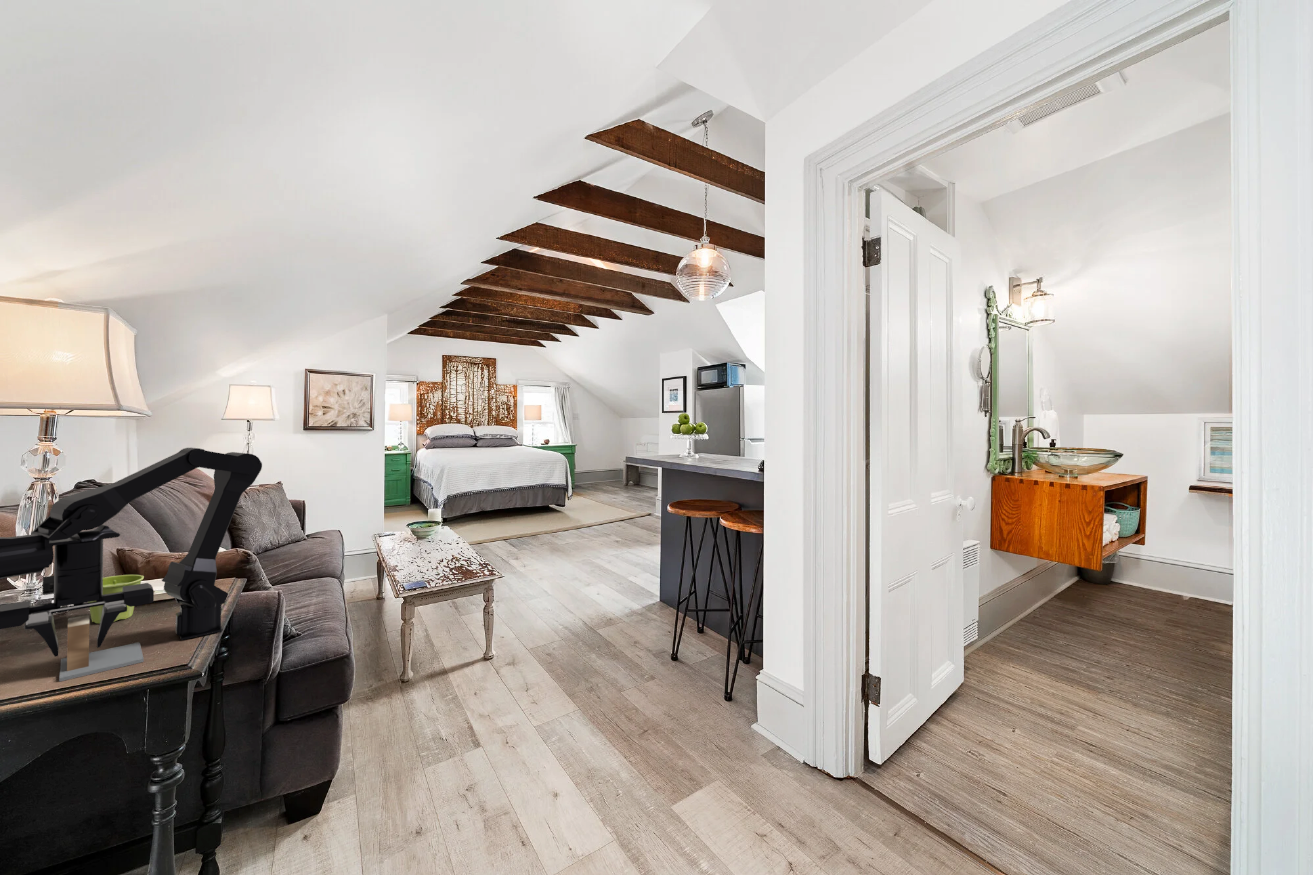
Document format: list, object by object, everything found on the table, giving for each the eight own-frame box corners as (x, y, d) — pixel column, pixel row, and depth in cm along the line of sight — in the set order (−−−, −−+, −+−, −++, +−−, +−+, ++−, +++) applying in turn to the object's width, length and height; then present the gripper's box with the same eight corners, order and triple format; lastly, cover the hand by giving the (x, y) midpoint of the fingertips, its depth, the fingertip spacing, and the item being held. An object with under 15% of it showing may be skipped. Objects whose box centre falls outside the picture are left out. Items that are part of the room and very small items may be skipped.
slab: (88, 657, 91) (89, 614, 91) (88, 666, 88) (89, 622, 88) (67, 661, 89) (68, 618, 89) (66, 671, 86) (67, 626, 86)
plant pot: (94, 614, 112) (95, 576, 112) (150, 608, 116) (151, 572, 116) (69, 629, 104) (70, 589, 103) (131, 623, 108) (131, 584, 108)
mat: (139, 645, 98) (139, 642, 98) (143, 661, 92) (143, 658, 92) (60, 661, 90) (61, 658, 90) (59, 681, 84) (59, 678, 84)
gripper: (149, 549, 101) (148, 623, 101) (-3, 566, 86) (-4, 653, 87) (154, 559, 93) (153, 640, 94) (-10, 580, 79) (-11, 675, 80)
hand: (78, 651), depth 89 cm, fingers open, 5 cm apart
